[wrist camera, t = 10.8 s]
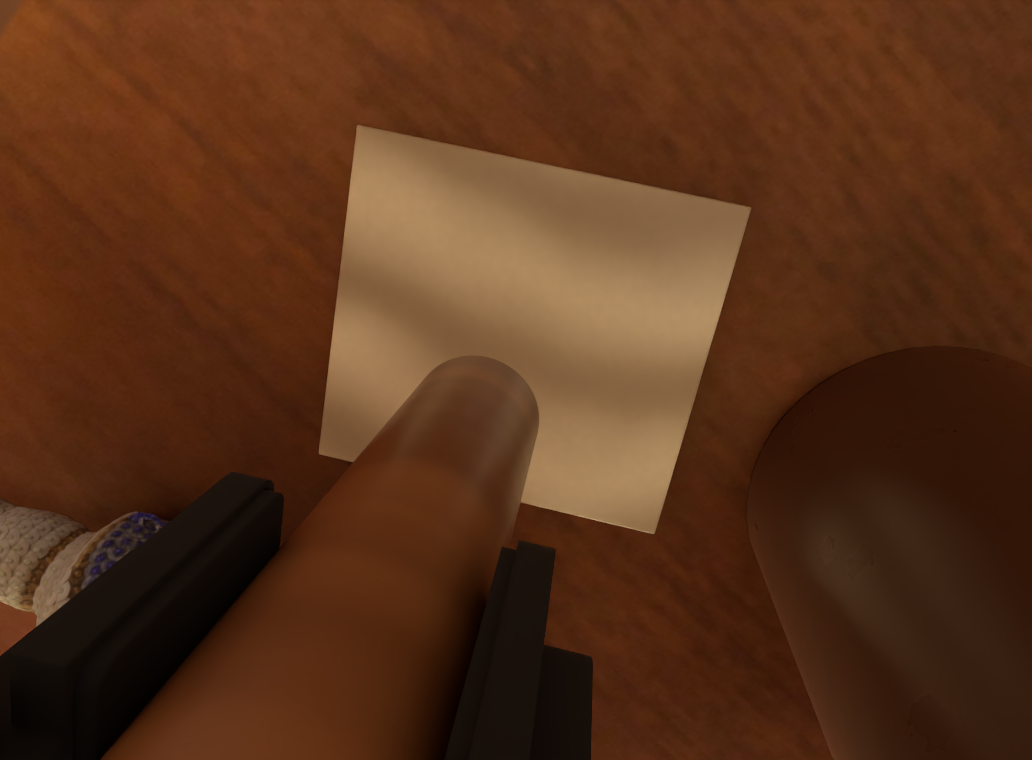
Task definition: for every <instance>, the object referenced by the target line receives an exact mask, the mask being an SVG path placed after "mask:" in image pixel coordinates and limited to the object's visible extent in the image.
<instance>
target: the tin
mask: <svg viewBox="0 0 1032 760" xmlns="http://www.w3.org/2000/svg"><path fill="white" fill-rule="evenodd" d="M747 526H748V531H749V536H750V541H751V545H752V548H753V551H754V553H755V556H756V559H757V562H758V564H759V567H760V569H761V572H762V575H763V577H764V580H765V583H766V585H767V588H768V590H769V593H770V596H771V598H772V601H773V603H774V606H775V609H776V611H777V614H778V617H779V619H780V622H781V624H782V627H783V630H784V632H785V635H786V637H787V640H788V643H789V645H790V648H791V650H792V653H793V656H794V658H795V661H796V664H797V666H798V669H799V671H800V674H801V677H802V679H803V682H804V684H805V687H806V690H807V692H808V695H809V698H810V700H811V703H812V705H813V708H814V711H815V713H816V716H817V718H818V721H819V724H820V726H821V729H822V731H823V734H824V737H825V739H826V742H827V745H828V747H829V750H830V752H831V755H832V758H833V760H1032V368H1030V367H1028V366H1025V365H1023V364H1021V363H1019V362H1016V361H1014V360H1012V359H1009V358H1007V357H1004V356H1000V355H997V354H993V353H990V352H986V351H982V350H975V349H969V348H962V347H938V346H934V347H923V348H912V349H906V350H901V351H896V352H892V353H887V354H883V355H880V356H877V357H874V358H871V359H868V360H865V361H862V362H860V363H858V364H856V365H854V366H851V367H849V368H847V369H845V370H843V371H841V372H839V373H837V374H836V375H834V376H832V377H831V378H829V379H827V380H826V381H824V382H822V383H821V384H819V385H818V386H817V387H815V388H814V389H813V390H812V391H810V392H809V393H808V394H806V395H805V396H804V397H803V398H801V399H800V400H799V401H798V402H797V403H796V404H795V405H794V406H793V407H792V408H791V409H790V410H789V411H788V412H787V413H786V414H785V416H784V417H783V418H782V420H781V421H780V422H779V423H778V425H777V426H776V427H775V428H774V430H773V431H772V433H771V434H770V436H769V438H768V439H767V441H766V443H765V445H764V446H763V448H762V450H761V452H760V454H759V457H758V459H757V462H756V464H755V466H754V469H753V473H752V477H751V480H750V484H749V489H748V498H747Z"/></svg>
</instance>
